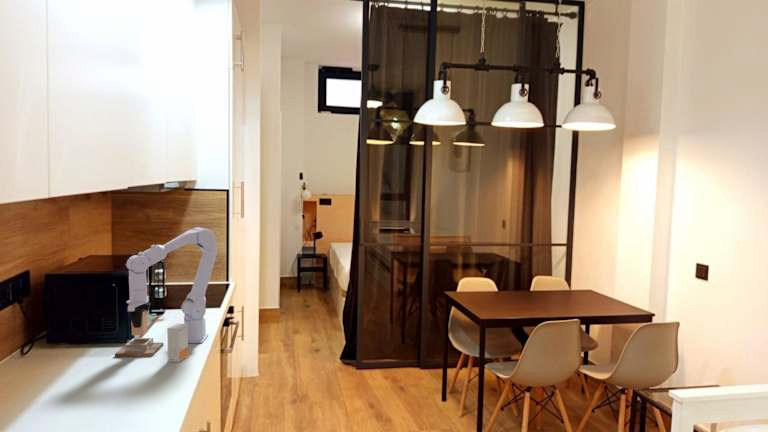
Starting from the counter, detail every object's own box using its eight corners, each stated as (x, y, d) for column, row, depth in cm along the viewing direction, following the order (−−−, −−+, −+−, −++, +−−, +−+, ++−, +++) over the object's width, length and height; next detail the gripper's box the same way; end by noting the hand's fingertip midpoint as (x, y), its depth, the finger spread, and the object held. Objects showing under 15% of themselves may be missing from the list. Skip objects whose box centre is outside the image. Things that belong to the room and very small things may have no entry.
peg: (136, 331, 189) (135, 310, 188) (147, 331, 189) (146, 310, 188) (131, 335, 185) (131, 313, 184) (143, 335, 185) (142, 313, 184)
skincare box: (178, 362, 177) (177, 329, 176) (167, 361, 178) (166, 328, 177) (188, 356, 183) (187, 323, 182) (178, 355, 184) (177, 323, 183)
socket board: (127, 346, 193) (127, 336, 193) (163, 345, 194) (162, 336, 194) (114, 357, 182) (114, 347, 182) (152, 356, 183) (152, 346, 183)
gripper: (134, 284, 192) (135, 319, 193) (118, 293, 178) (119, 332, 179) (154, 284, 193) (155, 319, 194) (139, 293, 178) (140, 331, 180)
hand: (139, 325), depth 187 cm, fingers closed on peg, 4 cm apart
